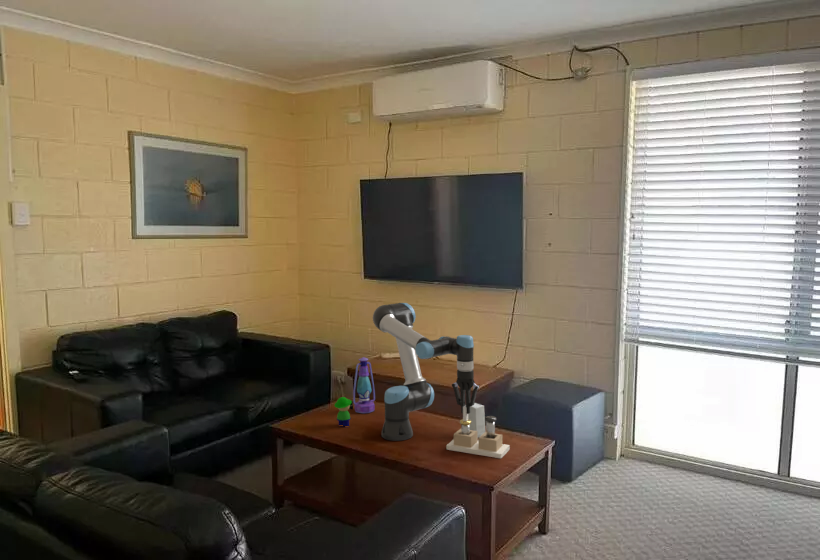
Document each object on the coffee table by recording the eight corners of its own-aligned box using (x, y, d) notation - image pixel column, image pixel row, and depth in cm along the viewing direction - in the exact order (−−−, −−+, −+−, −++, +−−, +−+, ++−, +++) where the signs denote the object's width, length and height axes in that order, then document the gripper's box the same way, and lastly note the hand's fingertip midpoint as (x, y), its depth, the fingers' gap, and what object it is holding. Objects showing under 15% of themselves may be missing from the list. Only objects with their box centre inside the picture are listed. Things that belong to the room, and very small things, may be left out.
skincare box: (485, 435, 301) (485, 405, 300) (476, 438, 298) (475, 408, 297) (474, 431, 308) (474, 401, 307) (465, 433, 305) (464, 403, 304)
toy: (355, 424, 320) (355, 396, 319) (345, 429, 313) (344, 400, 312) (342, 421, 325) (341, 393, 324) (331, 426, 318) (330, 397, 316)
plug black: (483, 439, 279) (483, 418, 278) (487, 435, 284) (486, 415, 283) (494, 440, 277) (494, 420, 276) (497, 437, 281) (497, 416, 281)
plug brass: (458, 441, 285) (458, 421, 284) (462, 438, 289) (462, 418, 288) (468, 443, 282) (468, 423, 282) (472, 439, 287) (472, 419, 286)
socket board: (446, 449, 284) (446, 434, 283) (456, 441, 295) (456, 426, 294) (501, 458, 272) (501, 442, 272) (509, 449, 283) (509, 434, 282)
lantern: (369, 406, 352) (368, 354, 349) (380, 411, 342) (379, 357, 339) (348, 410, 345) (347, 357, 342) (358, 415, 335) (357, 360, 332)
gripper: (448, 370, 282) (449, 420, 284) (475, 372, 276) (476, 424, 279) (455, 366, 289) (455, 416, 291) (481, 369, 283) (482, 419, 285)
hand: (465, 420), depth 285 cm, fingers closed
